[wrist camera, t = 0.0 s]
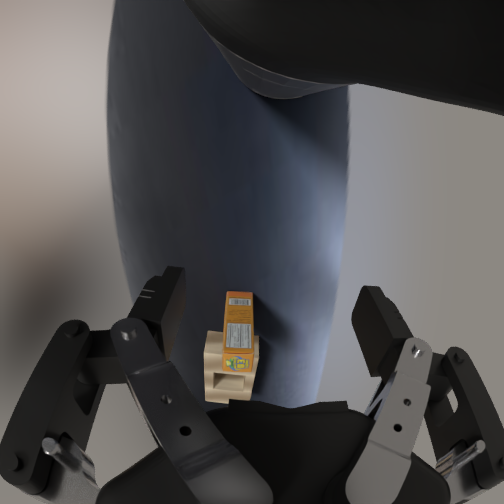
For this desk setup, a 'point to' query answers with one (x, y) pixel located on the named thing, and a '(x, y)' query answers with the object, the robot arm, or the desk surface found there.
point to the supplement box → (238, 333)
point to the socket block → (225, 373)
